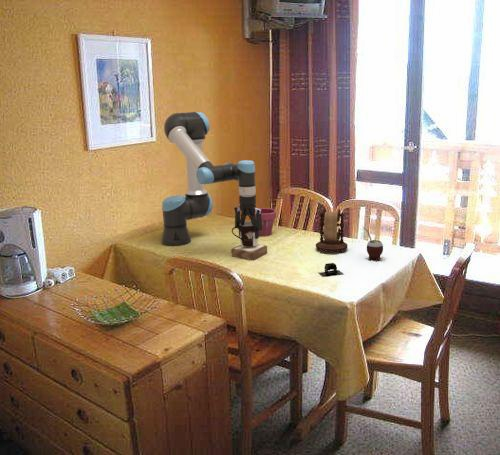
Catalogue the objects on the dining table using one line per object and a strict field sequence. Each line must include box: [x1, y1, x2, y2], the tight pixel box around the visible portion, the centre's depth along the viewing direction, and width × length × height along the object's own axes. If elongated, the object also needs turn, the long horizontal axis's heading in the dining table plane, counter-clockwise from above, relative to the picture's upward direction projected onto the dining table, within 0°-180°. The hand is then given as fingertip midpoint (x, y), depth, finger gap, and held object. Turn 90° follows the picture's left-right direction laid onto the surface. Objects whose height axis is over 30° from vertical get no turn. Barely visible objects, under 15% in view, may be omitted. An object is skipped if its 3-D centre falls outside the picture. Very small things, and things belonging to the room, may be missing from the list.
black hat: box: [318, 262, 345, 278], centre depth 208 cm, size 12×7×5 cm, turn 105°
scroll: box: [315, 208, 348, 254], centre depth 237 cm, size 15×15×20 cm
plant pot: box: [255, 207, 277, 237], centre depth 269 cm, size 14×14×13 cm
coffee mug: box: [231, 220, 257, 246], centre depth 234 cm, size 12×9×10 cm
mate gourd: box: [362, 226, 384, 262], centre depth 222 cm, size 8×8×15 cm
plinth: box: [230, 243, 268, 262], centre depth 235 cm, size 12×12×4 cm
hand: (249, 244), depth 234 cm, fingers closed on coffee mug, 6 cm apart
